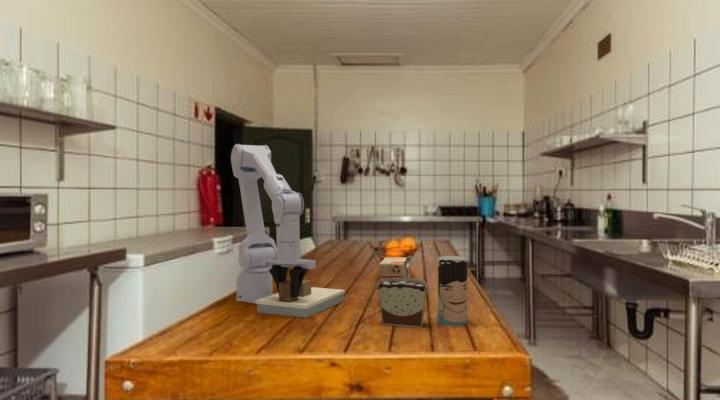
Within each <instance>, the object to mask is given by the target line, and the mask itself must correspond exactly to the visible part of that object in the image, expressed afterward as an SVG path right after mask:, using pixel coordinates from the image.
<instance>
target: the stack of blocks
mask: <svg viewBox="0 0 720 400" xmlns="http://www.w3.org/2000/svg"><path fill="white" fill-rule="evenodd" d="M407 258H408V257H396V256H395V257H391V256H390V257H389V256H388V257H387V256H385V257H384V258H383V260H381V262H379V264H378V274H379V276H378V281H379V280H383V279H390V278H411V272H410V268H411V266H410V263H408V261H407ZM378 307H379V308H380V300H379V299H378Z"/></svg>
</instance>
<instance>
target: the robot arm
mask: <svg viewBox="0 0 720 400" xmlns="http://www.w3.org/2000/svg"><path fill="white" fill-rule="evenodd" d="M230 163H231V168H232V173H233V177H235V178H237V179H238V185H239V189H240V190H239V191H240V197H241V204H242V205H241V206H242V211H243V216H244V217H243V219H244V223H245V230H246V235H247V236H246V237H245V238H244V239H243V240H242V241H241V242H240V243H239V245H238V263H239V267H240V268H241V269H242V270H241V271H240V272H239V273H238V275H237V276H236V281H235V282H236V302H245V303H249V304H256V300H259V299H262V298H265V297H268V296H271V295H274V293H273V290H274V289H273V281H274V283H275V286H276V291H277V293H278V294H279V283H280V282H283V281H287V277H288V274H289V278H290V279H289V280H291V293H292V298H295V297H298V296H299V292H300V288H301V284H302V281H303V280H305V276H306V274H307V273H308V270H314V269H316V268H317V265H316V264H317V262H316V260H313V259H306V258H301V255H300V254H301V250H300V249H301V244H300V241H301V240H300V239H301V238H300V236H301V234H300V231H301V230H300V227H301V226H300V216H302V214H303V213H304V209H305V203H304V198H303V196H302V194H301V193H300V192H296V191H293V189H292V188H291V187H290V185H289V184H288V182H287V180H286V179H285V177H284V176H283V175H282V174H280V173H277V172H276V169H275V168H274V165H273V163H272V150H271V149H270V148H269V146H268V145H267V144H264V145H255V144H253V145H252V144H240V143H236V144H234V146H233V147H232V149H231V154H230ZM261 178H262V179H263V180H264V182H263V188H264V190H265V192H266V194H267V195H268V197H269V198H270V200H271V201H272V202H271V211H272V214H273V221H274V224H275V225H276V227H275V228H276V242H275V240H274V238H272V237H270V236H269V235H267V234H266V230H265V229H266V228H265V224H264V218H263V217H264V216H263V210H262V206H261V199H260V192H259V186H258V179H261ZM289 268H290V269H289Z"/></svg>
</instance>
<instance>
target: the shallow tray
mask: <svg viewBox="0 0 720 400" xmlns="http://www.w3.org/2000/svg"><path fill="white" fill-rule="evenodd" d="M344 301H345V293H344V294H341V295H339V296H336V297H334V298H332V299H329V300H327V301H324V302H322V303H320V304H317V305H315V306H312V307H310V308H308V309H302V308H292V307H282V306H273V305H263V304H256V306H257V307H256V310H257V311H256V312H257V313H258V314H266V315H267V314H268V315H276V316H284V317H293V318H294V317H295V318H303V319H308V318H309V317H312V316H314V315H316V314H318V313H321V312H323V311H325V310H327V309H329V308H331V307H335V306H336V305H338V304H340V303H344Z"/></svg>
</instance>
